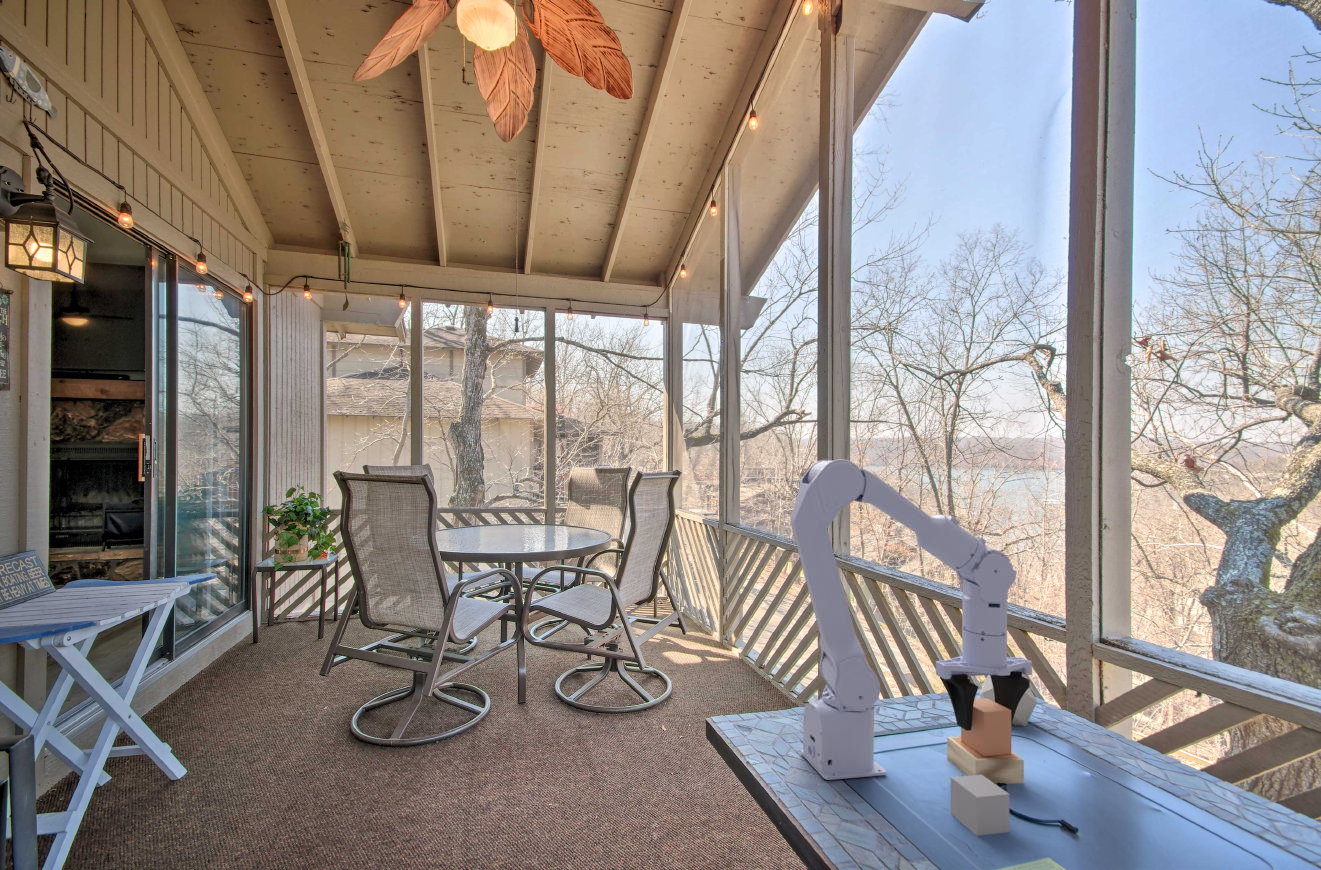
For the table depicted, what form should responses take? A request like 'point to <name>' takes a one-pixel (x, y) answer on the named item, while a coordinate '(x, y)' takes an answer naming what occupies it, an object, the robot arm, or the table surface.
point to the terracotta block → (989, 729)
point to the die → (1023, 707)
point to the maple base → (985, 763)
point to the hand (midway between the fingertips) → (983, 726)
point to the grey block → (980, 804)
